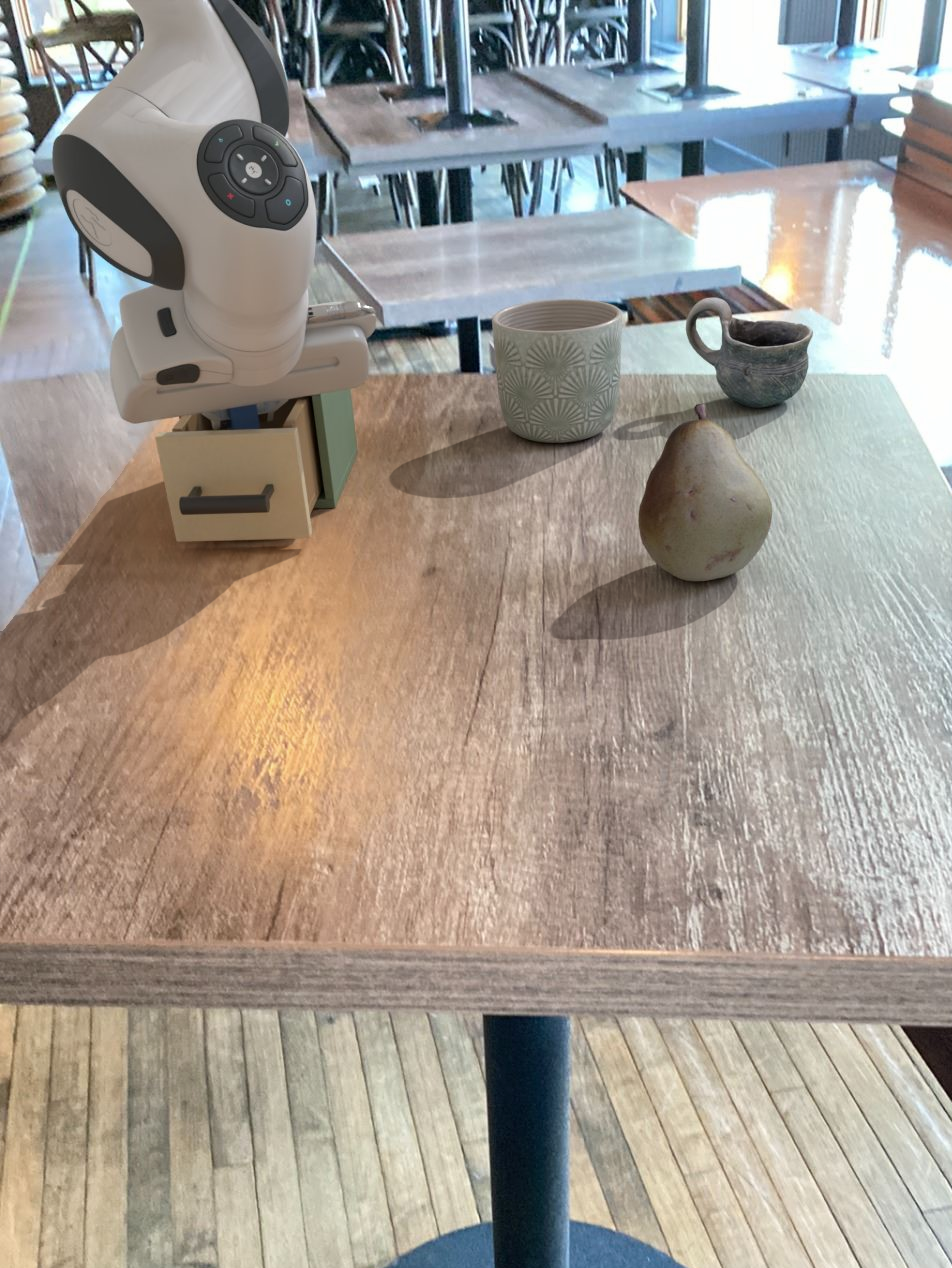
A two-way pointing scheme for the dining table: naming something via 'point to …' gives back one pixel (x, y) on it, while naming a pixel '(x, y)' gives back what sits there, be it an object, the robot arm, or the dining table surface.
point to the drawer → (243, 476)
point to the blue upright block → (244, 418)
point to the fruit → (703, 505)
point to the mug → (754, 355)
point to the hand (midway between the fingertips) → (240, 417)
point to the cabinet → (334, 443)
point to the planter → (558, 367)
